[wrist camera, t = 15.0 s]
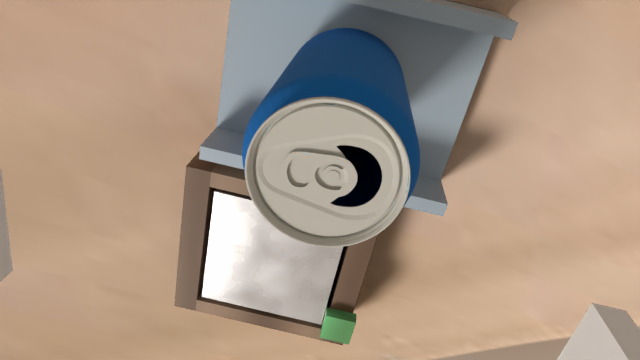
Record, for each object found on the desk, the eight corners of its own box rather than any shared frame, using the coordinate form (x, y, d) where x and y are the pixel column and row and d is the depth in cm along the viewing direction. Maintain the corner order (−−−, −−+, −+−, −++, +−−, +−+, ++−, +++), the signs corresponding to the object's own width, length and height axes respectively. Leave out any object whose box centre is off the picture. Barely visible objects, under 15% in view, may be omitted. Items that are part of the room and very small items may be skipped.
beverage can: (393, 144, 28) (406, 268, 17) (286, 131, 28) (232, 245, 17) (412, 32, 25) (442, 96, 14) (292, 19, 25) (232, 73, 14)
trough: (219, 133, 30) (198, 159, 26) (241, -49, 25) (219, -48, 21) (434, 184, 30) (442, 216, 26) (497, 12, 25) (518, 22, 21)
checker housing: (189, 278, 35) (170, 313, 32) (202, 147, 30) (181, 172, 27) (348, 315, 35) (345, 354, 32) (387, 190, 30) (389, 220, 27)
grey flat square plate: (206, 287, 33) (201, 296, 32) (219, 184, 29) (214, 191, 28) (322, 314, 33) (321, 324, 32) (350, 215, 29) (349, 223, 28)
